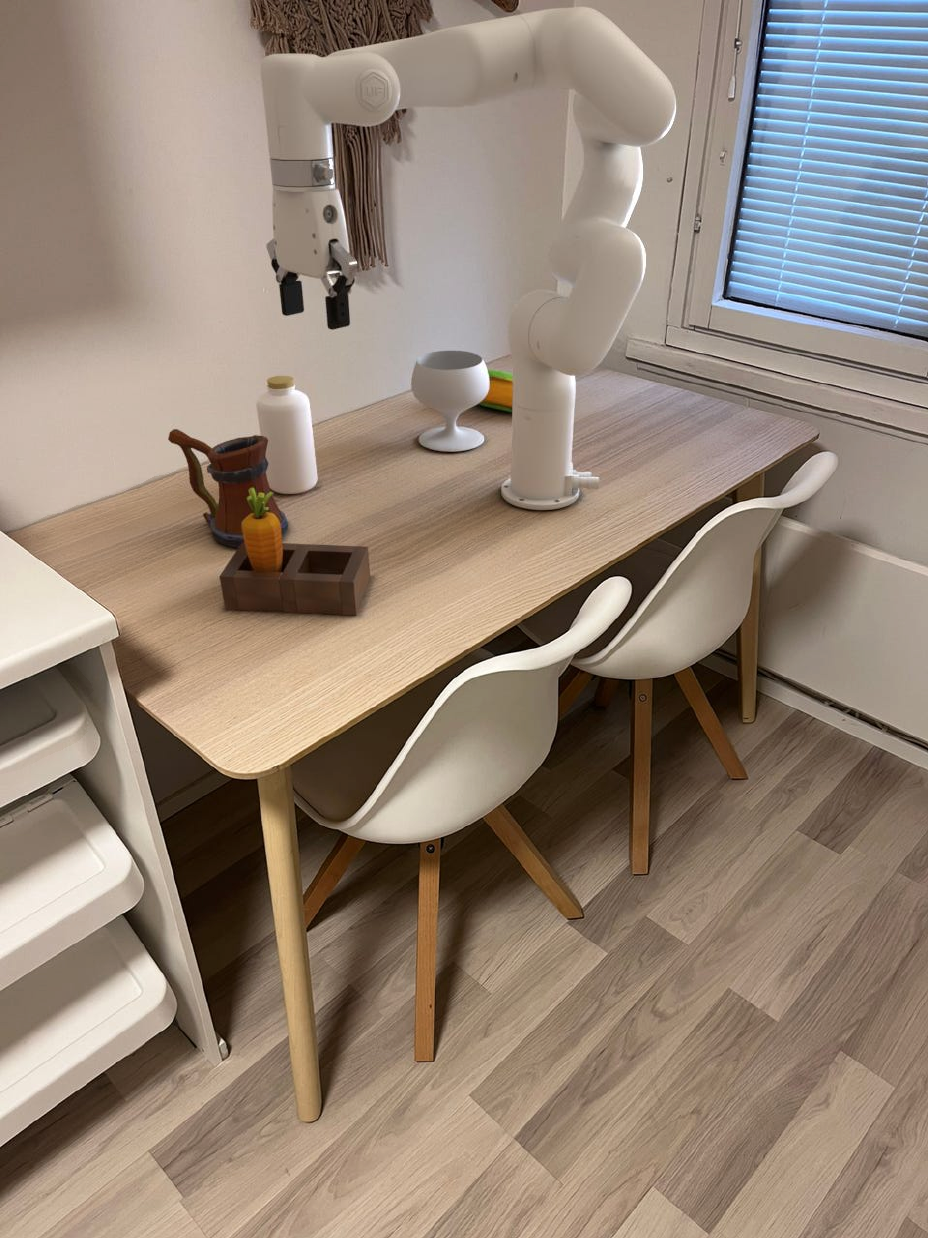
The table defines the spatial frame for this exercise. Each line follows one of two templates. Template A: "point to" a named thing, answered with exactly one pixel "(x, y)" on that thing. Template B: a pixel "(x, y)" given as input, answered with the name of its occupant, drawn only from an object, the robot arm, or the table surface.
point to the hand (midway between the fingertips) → (315, 320)
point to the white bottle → (287, 437)
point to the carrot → (262, 535)
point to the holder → (300, 581)
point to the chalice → (450, 395)
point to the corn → (499, 391)
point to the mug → (230, 482)
